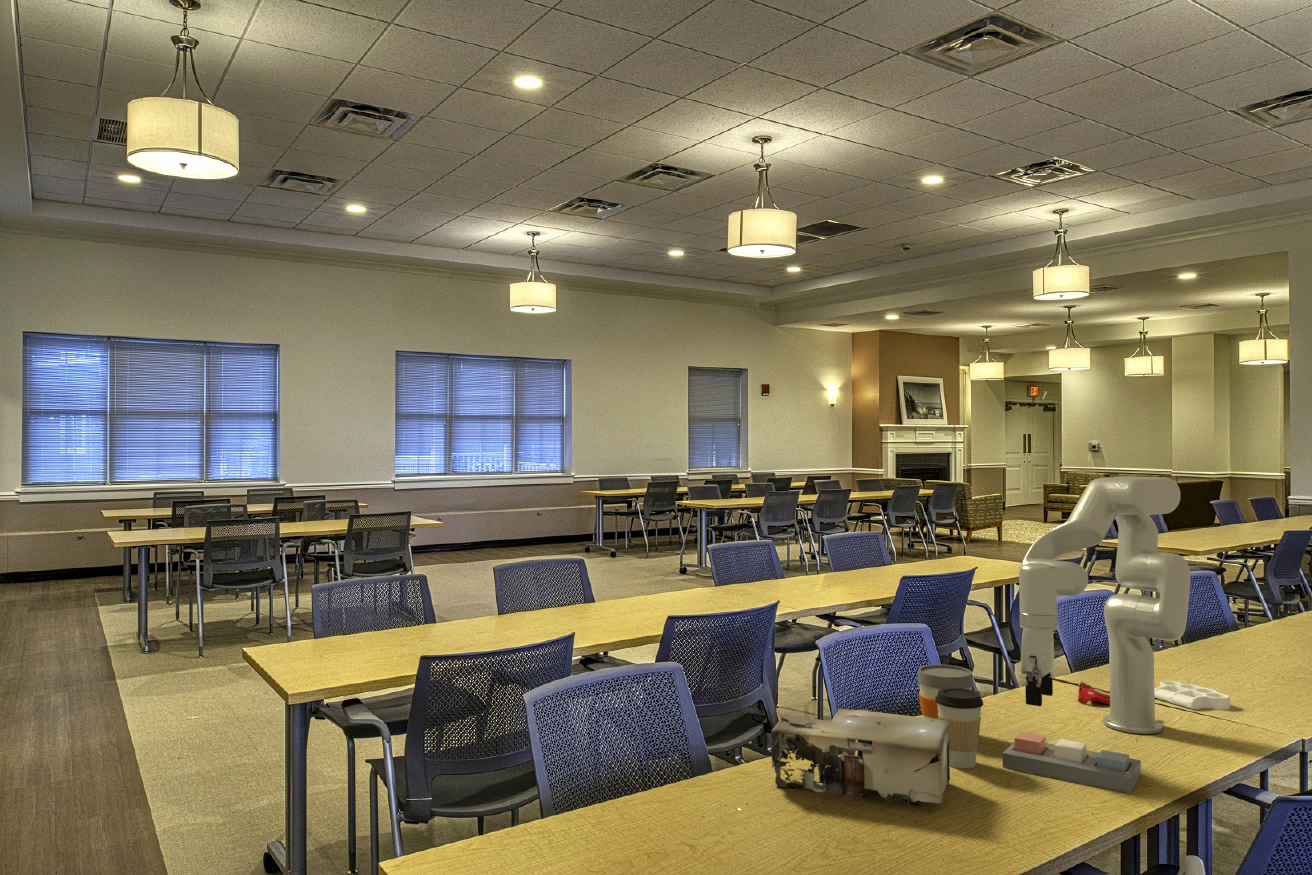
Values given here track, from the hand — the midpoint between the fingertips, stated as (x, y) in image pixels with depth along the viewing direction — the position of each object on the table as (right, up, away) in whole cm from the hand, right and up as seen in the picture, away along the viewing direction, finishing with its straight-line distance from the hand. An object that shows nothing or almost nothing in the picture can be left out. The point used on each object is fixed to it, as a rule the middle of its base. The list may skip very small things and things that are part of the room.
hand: (1039, 699), depth 192 cm
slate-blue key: (+9, -11, -13) cm, 20 cm away
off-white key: (+3, -11, -8) cm, 14 cm away
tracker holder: (+33, -13, +43) cm, 56 cm away
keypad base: (+3, -12, -8) cm, 15 cm away
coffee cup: (-18, -13, -3) cm, 23 cm away
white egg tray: (+58, -13, +41) cm, 72 cm away
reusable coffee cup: (-15, -13, +16) cm, 25 cm away
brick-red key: (-3, -11, -3) cm, 12 cm away
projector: (-41, -13, -18) cm, 47 cm away
